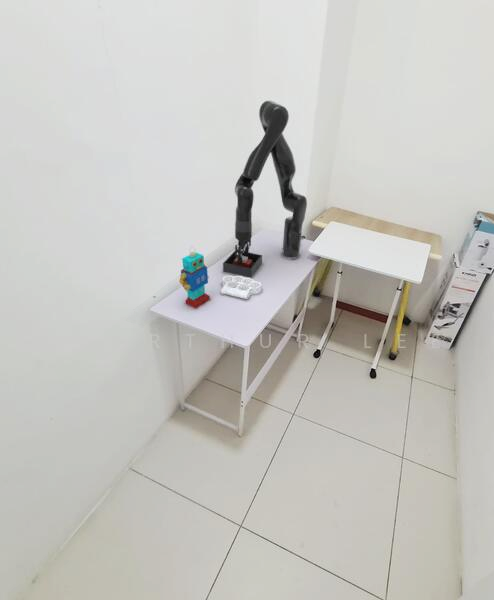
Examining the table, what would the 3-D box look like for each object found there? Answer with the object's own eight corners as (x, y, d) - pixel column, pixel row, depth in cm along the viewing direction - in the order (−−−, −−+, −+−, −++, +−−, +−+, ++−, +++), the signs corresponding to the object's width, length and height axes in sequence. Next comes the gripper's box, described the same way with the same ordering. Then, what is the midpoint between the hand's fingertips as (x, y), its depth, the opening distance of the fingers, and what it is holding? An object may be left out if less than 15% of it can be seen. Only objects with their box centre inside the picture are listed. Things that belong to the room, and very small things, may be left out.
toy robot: (192, 310, 134) (186, 255, 119) (181, 304, 136) (174, 250, 122) (212, 297, 142) (209, 244, 128) (202, 292, 145) (197, 239, 130)
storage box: (235, 258, 172) (235, 249, 169) (261, 264, 169) (262, 255, 166) (223, 272, 159) (222, 263, 157) (251, 278, 157) (251, 269, 154)
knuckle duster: (214, 293, 145) (228, 277, 156) (253, 302, 141) (264, 285, 153) (214, 287, 143) (228, 271, 154) (253, 296, 139) (265, 279, 151)
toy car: (233, 267, 163) (233, 258, 160) (237, 263, 166) (237, 254, 163) (249, 270, 161) (249, 261, 158) (252, 266, 165) (252, 257, 162)
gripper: (245, 235, 145) (244, 268, 155) (256, 224, 157) (255, 255, 166) (229, 232, 147) (229, 264, 156) (241, 221, 158) (241, 252, 167)
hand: (243, 259), depth 161 cm, fingers open, 8 cm apart
